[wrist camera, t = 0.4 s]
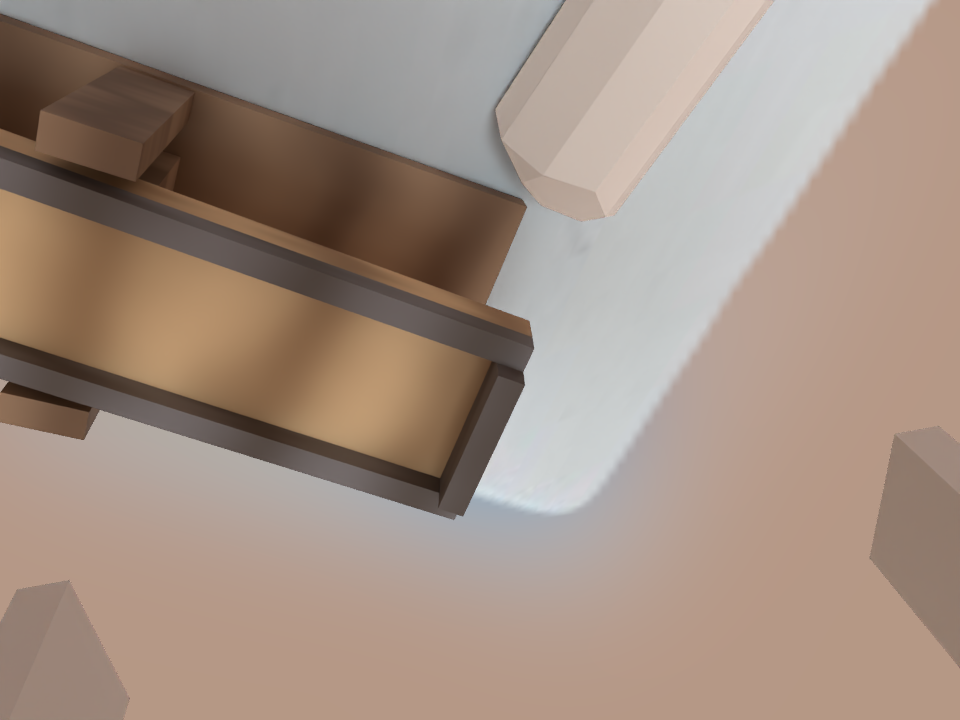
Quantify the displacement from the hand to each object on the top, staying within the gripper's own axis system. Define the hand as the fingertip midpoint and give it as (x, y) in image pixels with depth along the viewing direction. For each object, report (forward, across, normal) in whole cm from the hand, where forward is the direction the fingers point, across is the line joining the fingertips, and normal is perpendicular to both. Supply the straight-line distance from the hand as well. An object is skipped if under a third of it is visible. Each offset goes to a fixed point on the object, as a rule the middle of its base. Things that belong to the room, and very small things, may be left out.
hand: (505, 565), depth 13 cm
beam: (+18, -12, 0) cm, 22 cm away
